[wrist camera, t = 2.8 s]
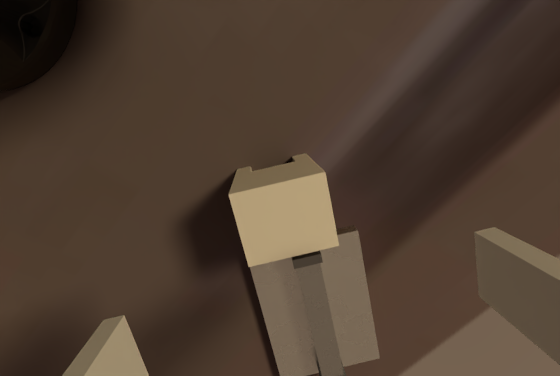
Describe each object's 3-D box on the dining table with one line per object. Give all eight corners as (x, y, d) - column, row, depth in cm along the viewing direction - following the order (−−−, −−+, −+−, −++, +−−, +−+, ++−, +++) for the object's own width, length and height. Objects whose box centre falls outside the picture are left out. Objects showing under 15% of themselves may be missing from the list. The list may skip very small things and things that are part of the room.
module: (251, 224, 28) (249, 269, 20) (237, 169, 27) (228, 194, 19) (317, 209, 28) (339, 247, 20) (305, 153, 27) (325, 171, 19)
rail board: (280, 371, 32) (283, 402, 29) (247, 250, 28) (245, 269, 25) (375, 349, 32) (388, 376, 29) (353, 225, 28) (366, 240, 25)
